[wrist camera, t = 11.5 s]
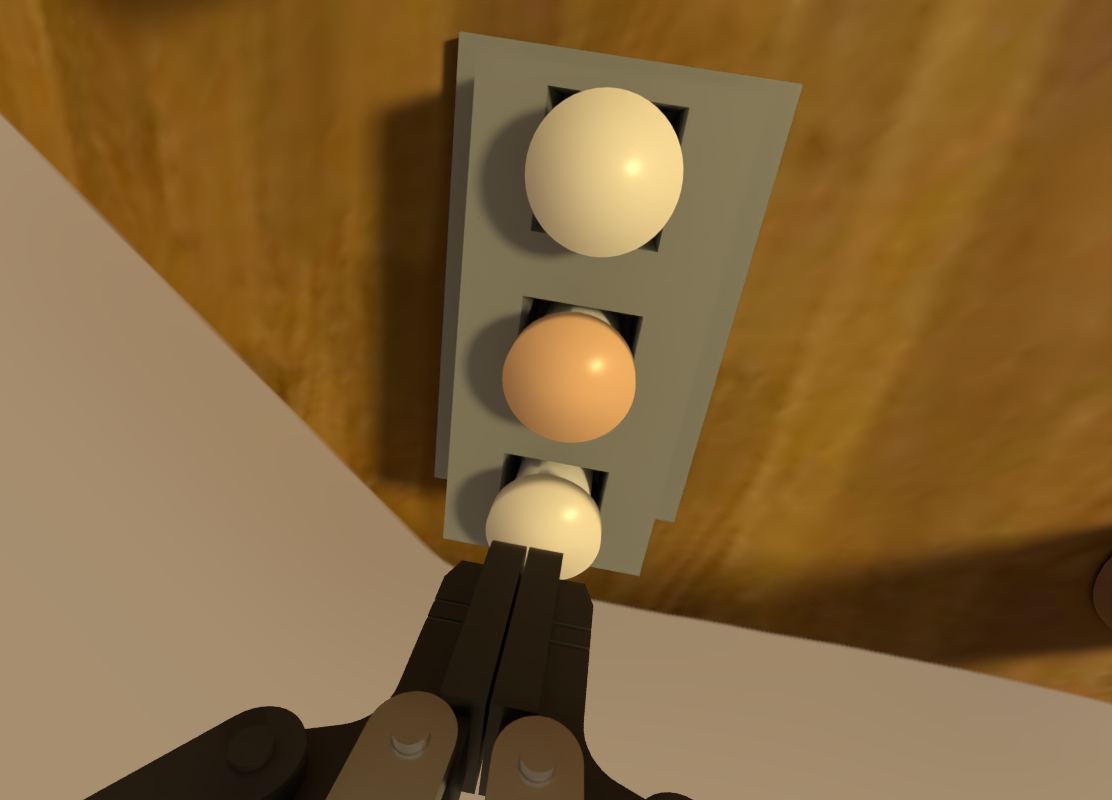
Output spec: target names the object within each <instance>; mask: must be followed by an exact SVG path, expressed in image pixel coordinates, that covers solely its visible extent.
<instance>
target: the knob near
mask: <svg viewBox="0 0 1112 800" xmlns="http://www.w3.org/2000/svg"><path fill="white" fill-rule="evenodd" d="M682 182H683V157H682V152H681V147H680V144H679V141H678V138H677V135H676V133H675V131H674V129H673V127H672V125H671V124H670V122H669V121H668V120H667V118H666V117H665V115H664V114H663V113H662V112H661V111H660V110H659V109H658V108H657V107H656V106H655V105H653V104H652V103H651V102H650V101H648V100H647V99H645V98H643V97H642V96H640V95H638V94H636V93H633V92H631V91H628V90H623V89H619V88H609V87H604V88H594V89H589V90H585V91H582V92H579V93H577V94H574V95H572V96H571V97H569V98H567V99H565V100H564V101H562V102H561V103H560V104H558V105H557V106H556V107H555V108H554V109H553V110H552V111H551V112H550V113H549V114H548V115H547V116H546V117H545V118H544V120H543V121H542V122H541V124H540V125H539V127H538V129H537V130H536V132H535V134H534V136H533V138H532V141H531V143H530V146H529V150H528V153H527V158H526V164H525V186H526V191H527V197H528V200H529V203H530V206H531V209H532V211H533V213H534V215H535V217H536V219H537V220H538V222H539V223H540V225H541V226H542V228H543V229H544V230H545V231H546V232H547V234H548V235H550V236H551V237H552V238H553V239H554V240H555V241H556V242H558V243H559V244H560V245H562V246H564V247H565V248H567V249H569V250H571V251H573V252H576V253H579V254H582V255H586V256H591V257H612V256H618V255H622V254H625V253H628V252H631V251H633V250H635V249H637V248H639V247H641V246H642V245H644V244H646V243H647V242H648V241H649V240H651V239H652V238H653V237H654V236H655V235H656V234H657V233H658V232H659V231H660V230H661V229H662V228H663V227H664V225H665V224H666V223H667V221H668V220H669V218H670V217H671V215H672V213H673V211H674V209H675V207H676V204H677V202H678V199H679V196H680V192H681V188H682Z"/></svg>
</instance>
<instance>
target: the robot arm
mask: <svg viewBox="0 0 1112 800" xmlns="http://www.w3.org/2000/svg"><path fill="white" fill-rule="evenodd" d="M526 552H527V546H522V545H517V544H512V543H506V542H501V541H496V540H493V541H492V542H491V545H490V548H489V550H488V553H487V556H486V559H485V562H484V565H483V564H478V563H473V562H468V561H461V562H460V563H459V564H458V565H456V566H455V567H454V568H453V569H452V570H451V571H450V572H449V573H448V574H447V575H445V577H444V579H443V581H442V584H441V586H440V588H439V590H438V593H437V595H436V598H435V602H433V605H432V607H431V609H430V612H429V614H428V618H427V619H426V621H425V624H424V626H423V628H422V630H421V633H420V635H419V637H418V640H417V642H416V644H415V647H414V649H413V651H412V654H411V656H410V659H409V661H408V664H407V666H406V668H405V671H404V673H403V675H402V678H401V680H400V682H399V684H398V686H397V688H396V690H395V692H394V693H393V695H392V696H391V698H390V699H389V700H387V701H385V702H384V703H383V704H381V705H380V706H379V707H378V708H377V709H376V710H375V711H374V713H372V714H371V715H369V716H367V717H365V718H363V719H361V720H358V721H355V722H352V723H348V724H343V725H335V726H327V727H318V728H310V729H305V728H304V726H303V724H302V722H301V720H300V719H299V718H298V717H297V716H296V715H295V714H294V713H292V712H291V711H289V710H287V709H284V708H280V707H273V706H267V707H259V708H253V709H250V710H247V711H244V712H242V713H240V714H238V715H236V716H234V717H232V718H230V719H228V720H227V721H225V722H223V723H221V724H219V725H218V726H216V727H214V728H212V729H211V730H209V731H207V732H205V733H203V734H201V735H200V736H198V737H196V738H194V739H192V740H190V741H189V742H187V743H185V744H183V745H181V746H180V747H178V748H176V749H174V750H173V751H171V752H169V753H167V754H165V755H163V756H162V757H160V758H158V759H156V760H154V761H153V762H151V763H149V764H147V765H145V766H144V767H142V768H140V769H138V770H137V771H135V772H133V773H131V774H129V775H128V776H126V777H124V778H122V779H120V780H118V781H117V782H115V783H113V784H111V785H109V786H108V787H106V788H104V789H102V790H100V791H98V792H97V793H95V794H93V795H91V796H90V797H88V798H86V799H84V800H459V798H460V794H461V791H462V792H467V793H472V794H475V789H476V785H477V781H478V777H479V773H480V769H481V764H482V760H483V764H482V771H481V779H480V786H479V795H482V796H485V800H692V799H690V798H688V797H686V796H683V795H681V794H677V793H671V792H667V793H666V792H665V793H658V794H654V795H652V796H650V797H648V798H647V799H644V798H642V797H640V796H639V795H637V794H635V793H634V792H632V791H630V790H629V789H627V788H625V787H624V786H622V785H620V784H618V783H617V782H616V781H614V780H612V779H611V778H610V777H609V776H607V774H605V773H604V772H603V771H602V770H601V768H600V767H599V766H598V765H597V764H596V762H595V761H594V759H593V758H592V756H591V754H590V752H589V750H588V748H587V745H586V741H585V737H584V712H585V699H586V688H587V675H588V663H589V649H590V639H591V626H592V615H593V604H592V601H591V599H590V596H589V594H588V591H587V589H586V586H585V584H582V583H577V582H571V581H566V580H561V579H560V573H561V567H562V561H563V554H564V553H559V552H554V551H549V550H544V549H538V548H533V547H529V551H528V555H527V559H526ZM525 559H526V563H525ZM524 566H525V567H524ZM1093 604H1094V606H1095V609H1096V611H1097V614H1098V615H1099V616H1100V618H1101V619H1102V620H1103V621H1104V622H1105V623H1106V624H1107V625H1108V627H1109V628H1110V629H1111V630H1112V557H1111V558H1110V559H1109V560H1108V561H1107V562H1106V563H1105V564H1104V566H1103V568H1102V569H1101V571H1100V573H1099V575H1098V576H1097V578H1096V582H1095V585H1094V589H1093Z"/></svg>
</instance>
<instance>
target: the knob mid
mask: <svg viewBox="0 0 1112 800" xmlns="http://www.w3.org/2000/svg"><path fill="white" fill-rule="evenodd" d="M502 383H503V390H504V394H505V398H506V400H507V403H508V405H509V407H510V409H511V410H512V412H513V413H514V415H515V416H516V417H517V418H518V419H519V421H520V422H521V423H522V424H524V425H525V426H526V427H527V428H528V429H530V430H531V431H533V432H534V433H536V434H538V435H540V436H542V437H545V438H547V439H550V440H554V441H558V442H565V443H577V442H585V441H589V440H593V439H596V438H599V437H601V436H603V435H605V434H607V433H608V432H610V431H611V430H612V429H614V428H615V427H616V426H617V425H618V424H619V423H620V422H621V421H622V420H623V419H624V417H625V416H626V414H627V413H628V411H629V409H630V407H631V405H632V402H633V399H634V395H635V386H636V379H635V364H634V359H633V356H632V353H631V351H630V348H629V346H628V344H627V343H626V341H625V340H624V338H623V337H622V336H621V313H619V312H614V311H608V310H602V309H596V308H590V307H585V306H579V305H573V304H567V303H562V302H556V301H551V302H550V304H549V307H548V309H547V311H546V313H545V315H544V317H542V318H539V319H538V320H536V321H534V322H533V323H531V324H530V325H529V326H527V327H526V328H525V329H524V330H523V331H522V332H521V333H520V335H519V336H518V337H517V339H516V340H515V342H514V344H513V346H512V348H511V349H510V351H509V353H508V355H507V357H506V360H505V363H504V367H503V374H502Z"/></svg>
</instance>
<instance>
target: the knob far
mask: <svg viewBox="0 0 1112 800" xmlns="http://www.w3.org/2000/svg"><path fill="white" fill-rule="evenodd" d="M592 479H593V469H588V468H583V467H577V466H572V465H567V464H561V463H556V462H550V461H545V460H540V459H534V458H529V457H524V456H523V458H522V461H521V464H520V467H519V470H518V473H517V476H516V479H515V480H514V481H512V482H510V483H509V484H507V485H506V486H505V487H504V488H503V489H502V490H501V491H500V492H499V493H498V494H497V496H496V498H495V500H494V502H493V505H492V507H491V510H490V513H489V516H488V518H487V522H486V538H487V542H488V545H489V547H490V545H491V542H492V541H493V540H496V541H501V542H506V543H512V544H517V545H522V546H527V552H526V559H527V555H528V551H529V547H533V548H538V549H544V550H549V551H554V552H559V553H564V554H563V561H562V567H561V573H560V579H561V580H565V579H568V578H571V577H574V576H576V575H578V574H580V573H581V572H583V571H584V570H586V569H587V568H588V567H589V566H590V565H591V564H592V563H593V561H594V560H595V558H596V556H597V554H598V552H599V549H600V543H601V530H602V520H601V514H600V511H599V509H598V507H597V505H596V503H595V501H594V500H593V498H592V497H591V488H592ZM526 559H525V563H526ZM524 567H525V566H524Z"/></svg>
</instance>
